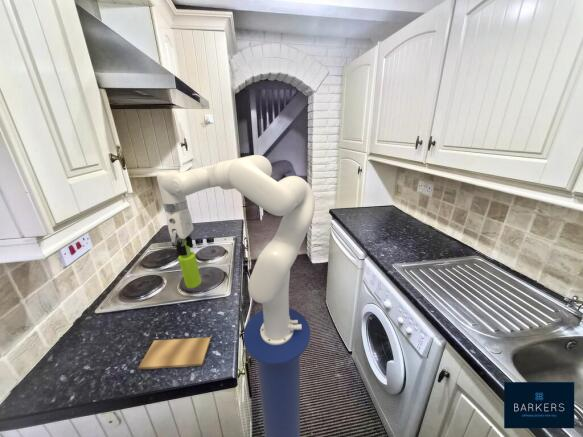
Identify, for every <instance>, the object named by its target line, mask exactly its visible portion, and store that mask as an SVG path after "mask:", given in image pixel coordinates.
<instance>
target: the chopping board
mask: <svg viewBox="0 0 583 437" xmlns="http://www.w3.org/2000/svg"><path fill="white" fill-rule="evenodd" d="M211 340H212V337H210V336H208V337H190V338H174V339H155V340H153V342H152V343H151V345H150V347H148V348H149V349H148V350H147V352H146V353H145V355H144V357H143V359H142V360H141V362H140V363H139V366H138V370H154V369H169V368H186V367H187V368H189V367H202V366H203V365H204V362H205V359H206V356H207V352H208V350H209V346H210V343H211Z"/></svg>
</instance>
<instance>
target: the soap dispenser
mask: <svg viewBox="0 0 583 437" xmlns="http://www.w3.org/2000/svg"><path fill="white" fill-rule="evenodd" d="M178 242H181V240H178ZM186 242H187V241H186V240H185V239H184V245H185V246H186V251H187V255H186V256H178V257H177V258H178V262H179V266H180V269H181V274H182V277H183V281H184V284H185V287H186V288H187V289H194V288H197V287H198V286H200V285H201V283H202V279H201V275H200V270H199V265H198V262H197V257H196V253H195V252H194V251H191V248H190V247H189V246H187V245H186Z"/></svg>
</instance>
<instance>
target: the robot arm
mask: <svg viewBox="0 0 583 437" xmlns="http://www.w3.org/2000/svg"><path fill="white" fill-rule="evenodd" d="M272 174H273V166H272V163H271V162H270V160H269V159H268V158H267V157H265V156H263V155H260V154H253V155H247V156H242V157H237V158H233V159H228V160H223V161H219V162H217V163H216V164H212V165H207V166H202V167H201V166H200V167H197V168H193V169H188V170H184V171H181V172H180V171H179V170H175V169H169V170H162V171H159V172H157V174H156V181H157V185H158V188H159V193H160V197H161V201H162V205H163V209H164V213H165V214H166V222H167V223H166V224H167V228H168V233H169V237H170V239H171V241H170V242H171V243H170V244H171V245H174V247H175V248H176V253H177V256H178V257H179V256H186V255H187V251H186V246H185V245H184V239H185V240H186V241H187V242H186V245H187V246H189V247H190V249H191V248H193V247H194V243H193V238H192V232H193V230H194V224H193V219H192V215H191V212H190V210H189V205H188V201H187V196H190V195H193V194H195V193H197V192H200V191H204V190H206V189H211V188H216V187H217V188H218V187H219V188H220V189H221V190H225V191H227V190H228V191H229V190H233V189H234V190H236V191H237V192H238V193H240V194H241V195H243V197H245V198H247V199H248V200H250V201H251V202H252V203H254V204H255V205H256V206H258V207H260V209H263V210H264V211H266V212H267V213H269V214H271V215H273V216H276V217H282V218H281V220H280V223H279V226H278V228H277V230H276V233H275V235H274V237H273V238H272V239H271V240H270V241H269V242H268V244H266V246H265V247H264V248H263V249H262V251H261V252H260V253H259V255H258V257H257V259H256V261H255V264H254V266H253V269H252V272H251V274H250V276H249V280H248V283H247V290H248V294H249V296H250V297H251V299H252V300H253V301H255V302H256V303H257V304H258V303H259V304H262V305H261V306H262V311H263V318H264V323H263V324H262V326H261V329H260V333H261V337H262V339H263V340H264V341H265V342H266V343H268V344H270V345H281V344H284V343H286V342H287V341H289V340H290V339H291V337H292V335H293V331H294V330H302V326H301V324H298V320H290V316H289V308H290V293H289V292H290V289H289V288H290V278H291V268H292V266H293V264H294V263H295V262H296V259H297V257H298V254H299V252H300V249H301V246H302V244H303V242H304V240H305V238H306V236H307V234H308V231H309V228H310V226H311V224H312V221H313V218H314V215H315V208H316V200H315V194H314V192H313V190H312V187H311V185H309V183H308V182H307V181H306V180H305V179H304V178H303V177H300V176H298V175H289V176H285V177H283V178H282V179H280V180H278V181H277V180H275V179H274V178H273V177H272ZM179 240H181V242H180V241H179ZM293 324H297V325H293Z"/></svg>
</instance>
